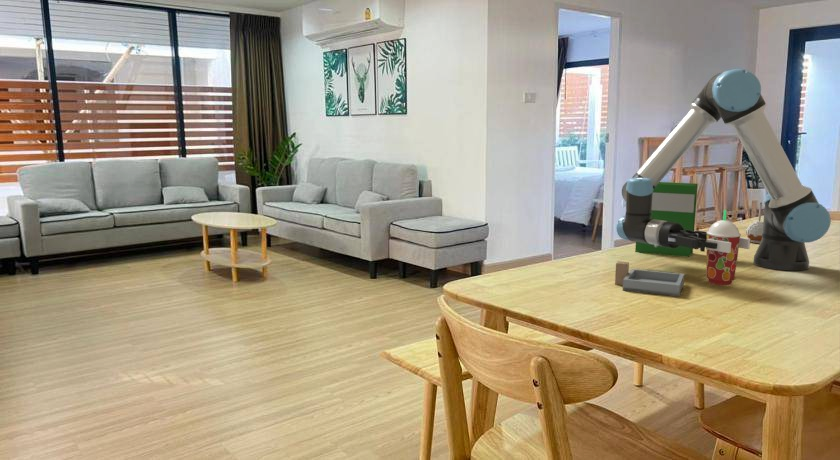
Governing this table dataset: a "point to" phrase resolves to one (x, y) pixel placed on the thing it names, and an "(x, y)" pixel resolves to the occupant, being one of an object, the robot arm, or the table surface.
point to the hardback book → (672, 213)
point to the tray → (648, 280)
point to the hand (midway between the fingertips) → (739, 245)
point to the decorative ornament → (755, 229)
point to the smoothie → (721, 262)
